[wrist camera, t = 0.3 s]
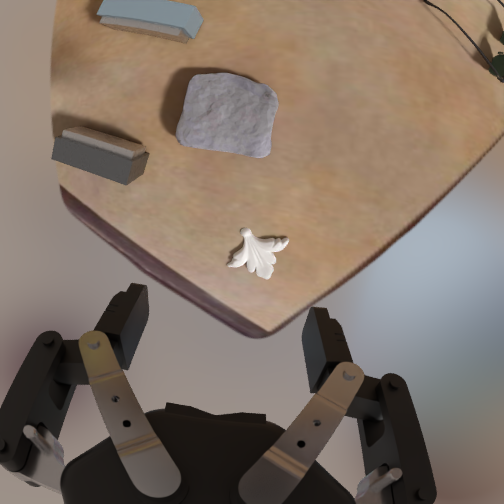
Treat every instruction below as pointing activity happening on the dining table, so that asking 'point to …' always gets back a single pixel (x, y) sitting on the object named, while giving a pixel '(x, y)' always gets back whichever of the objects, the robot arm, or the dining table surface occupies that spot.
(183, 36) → the block
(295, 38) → the dining table surface
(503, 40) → the sunglasses
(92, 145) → the block
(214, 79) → the stone block
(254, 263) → the acanthus leaf ornament
